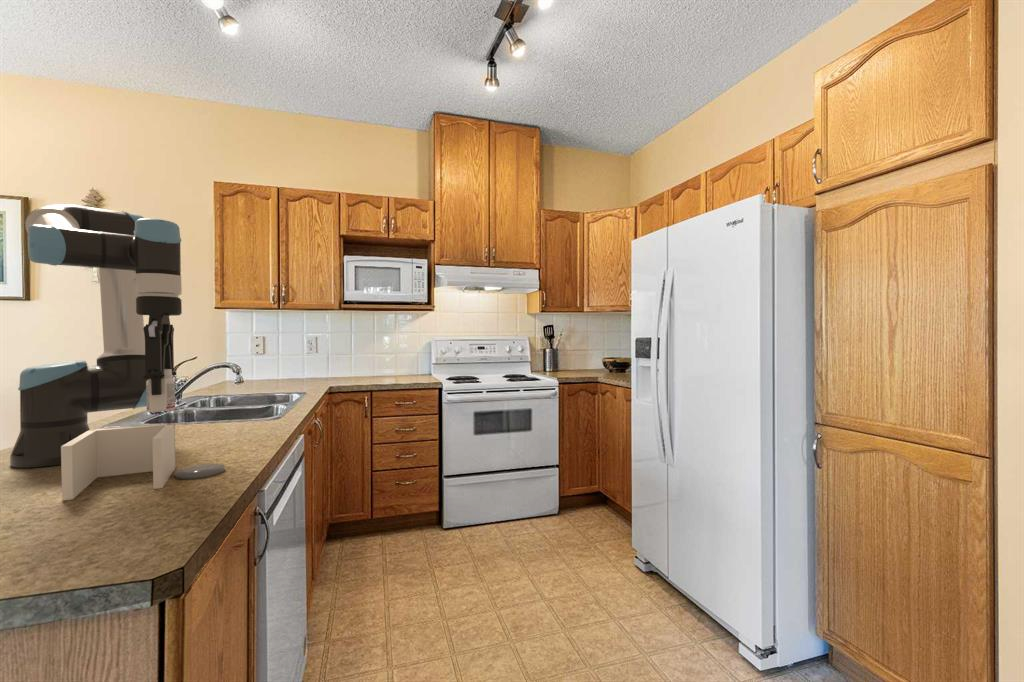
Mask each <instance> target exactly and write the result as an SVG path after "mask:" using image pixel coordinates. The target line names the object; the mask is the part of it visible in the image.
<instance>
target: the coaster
mask: <svg viewBox="0 0 1024 682" xmlns="http://www.w3.org/2000/svg"><path fill="white" fill-rule="evenodd" d="M223 472H225V465H224V464H223V463H203V464H202V463H201V464H195V465H190V466H186V467H183V468H180V469H177V470H176V471H175V472H174V477H175V479H177V480H183V481H184V480H186V481H187V480H188V481H189V480H190V481H191V480H199V479H200V480H201V479H207V478H211V477H215V476H217V475H220V474H222V473H223Z"/></svg>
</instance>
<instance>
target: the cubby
mask: <svg viewBox="0 0 1024 682" xmlns="http://www.w3.org/2000/svg"><path fill="white" fill-rule="evenodd" d="M176 458H177V457H176V423H163V424H162V423H161V424H149V425H137V426H123V427H122V426H121V427H110V428H98V429H90V430H88V431H86V432H85V433H83V434H81V435H80V436H78V437H76V438H75V439H73V440H71V441H69V442H68V443H66V444H64V445H63V446H61V464H60V465H61V466H60V467H61V500H62V501H63V502H64V501H70V500H71V501H72V500H74V499H75V498H76V497H77V496H78V495H80V493H82V492H83V491H84V490H85V489H86V488H87V487H88V486H89V485H91V484H92V483H93V481H95V480H96V479H98V478H105V477H113V476H122V475H133V474H140V473H149V472H152V479H153V480H152V481H153V483H152V486H153V487H152V488H153V490H156V489H157V490H159V489H163V488H164V487H165V485H166V484H167V482H168V480H169V478H170V477H171V476H172V474H173V472H174V471H175V469H176V467H177V466H176V464H177V463H176V461H177V460H176Z"/></svg>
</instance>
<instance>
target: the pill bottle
mask: <svg viewBox="0 0 1024 682" xmlns="http://www.w3.org/2000/svg"><path fill="white" fill-rule="evenodd" d="M164 374H165V377H164V378H166V408H167V410H166V411H165V412H169V411H174V410H175V408H176V392H175V391H176V389H175V387H176V386H175V384H176V383H175V379H174V378H173V375H172V369H164ZM171 376H172V378H171ZM146 403H147V406H146V411H147V413H148V412H149V380H147V381H146ZM161 412H163V411H152V412H151V413H161ZM149 413H150V412H149Z"/></svg>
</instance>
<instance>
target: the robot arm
mask: <svg viewBox="0 0 1024 682" xmlns="http://www.w3.org/2000/svg"><path fill="white" fill-rule="evenodd" d="M24 227H25V231H26V233H27V256H28V260H29V261H31V262H32V263H36V264H44V265H50V266H55V267H56V266H66V267H68V266H69V267H83V268H95V269H96V268H97V269H98V272H99V273H98V275H99V289H100V304H101V305H100V306H101V322H102V324H101V326H102V340H103V353H102V354H101V355H100V356H97V358H96V365H88V363H87V361H86V360H72V361H71V360H70V361H59V362H55V363H53V362H52V363H47V364H46V363H45V364H40V365H34V366H30V367H27V368H24V369H23V370H22V371H21V372H20V375H19V387H18V388H17V390H18V391H19V413H20V414H19V418H20V419H19V421H20V422H19V423H20V426H19V427H20V429H19V430H20V431H19V434H18V437H17V439H16V442H15V443H14V446H13V449H12V451H11V454H9V455H10V456H9V461H10V462H9V463H10V464H9V465H10V466H11V467H13V468H21V469H23V468H24V469H26V468H28V469H30V468H42V467H43V468H44V467H52V466H59V465H61V446H63V445H64V444H66V443H68V442H69V441H71V440H73V439H75V438H76V437H78V436H80V435H81V434H83V433H85V432H86V431H88V430H91V428H90V426H89V424H88V414H89V413H96V412H107V411H108V412H109V411H116V410H126V409H127V410H129V409H133V410H135V409H137V408H144V407H146V408H147V403H146V381H147V380H149V413H153V412H152V411H162V412H167V411H166V410H167V408H166V378H164V377H165V374H164V369H172V376H171V378H172V379H173V376H177V371H175V365H174V364H175V361H174V358H175V357H174V351H175V350H174V331H175V328H174V327H175V326H174V325H173V324H171V321H170V316H176V317H177V316H181V315H182V313H183V312H182V310H183V309H182V299H181V298H180V297H179V296H181V295H182V294H183V293H182V289H183V288H182V275H181V270H182V268H181V264H182V263H181V262H182V261H181V242H182V237H181V231H180V227H179V225H178V224H177V223H175V222H173V221H171V220H166V219H159V218H145V217H144V216H142V215H140V214H137V213H131V212H128V211H119V210H111V209H103V208H98V207H91V206H90V207H89V206H84V205H77V204H69V203H67V204H64V203H63V204H50V205H45V206H42V207H41V206H40V207H38V208H36V209H34V210H31V211H30V212H29V213H28V215H26V217H25V220H24ZM144 316H148V322H147V323H148V324H147V323H146V324H144V323H145V321H144Z"/></svg>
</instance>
